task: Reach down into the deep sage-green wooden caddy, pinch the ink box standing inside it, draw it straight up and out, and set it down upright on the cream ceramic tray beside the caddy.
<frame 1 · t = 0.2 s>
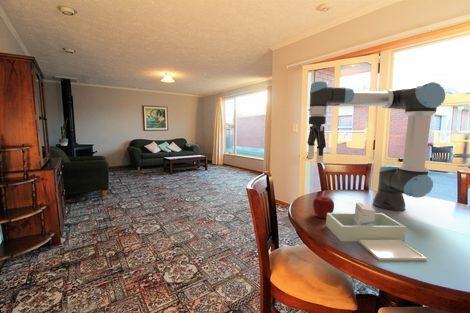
hand: (314, 160, 111), 28 cm above the table, fingers open, 13 cm apart
apple: (322, 217, 112), on the table
caddy: (362, 233, 96), on the table
tray: (390, 251, 82), on the table
ink box: (362, 233, 96), resting in caddy
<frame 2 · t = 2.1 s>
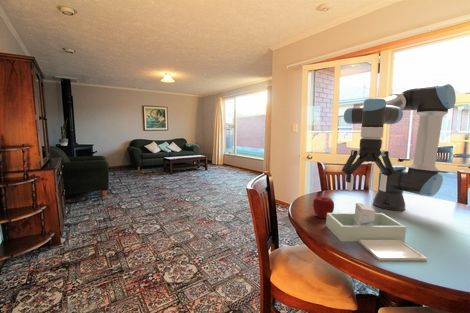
hand: (365, 190, 93), 18 cm above the table, fingers open, 13 cm apart
nothing on the table moved.
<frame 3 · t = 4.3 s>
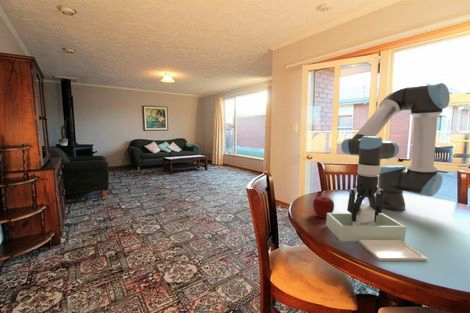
hand: (362, 228, 95), 2 cm above the table, fingers closed on ink box, 6 cm apart
ink box: (362, 233, 96), resting in caddy, touching gripper
everything else where it was.
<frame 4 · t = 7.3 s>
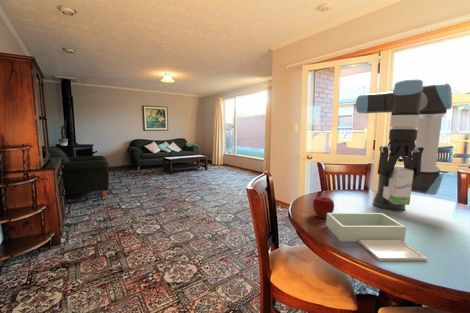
hand: (396, 195, 79), 21 cm above the table, fingers closed on ink box, 6 cm apart
ink box: (395, 201, 79), point 19 cm above the table, touching gripper
everything else where it was.
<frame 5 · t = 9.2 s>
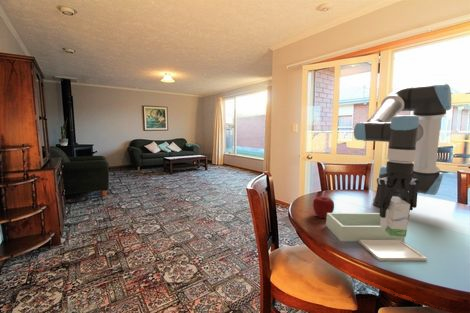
hand: (393, 226, 80), 10 cm above the table, fingers closed on ink box, 6 cm apart
ink box: (392, 231, 81), point 7 cm above the table, touching gripper
everything else where it was.
when the fingers open (4 cm above the table, at t = 10.7 s): ink box drops 1 cm, resting on tray.
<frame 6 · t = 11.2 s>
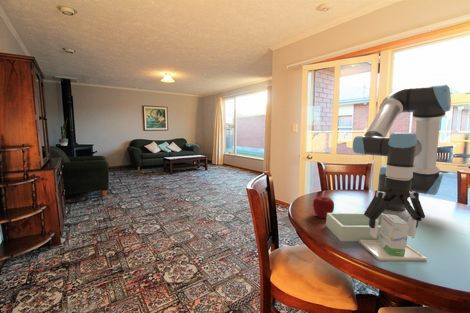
hand: (391, 236, 81), 6 cm above the table, fingers open, 13 cm apart
ink box: (391, 250, 82), resting on tray
everything else where it was.
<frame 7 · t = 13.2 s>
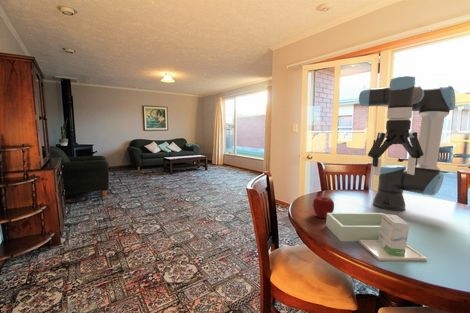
hand: (393, 174, 89), 26 cm above the table, fingers open, 13 cm apart
nothing on the table moved.
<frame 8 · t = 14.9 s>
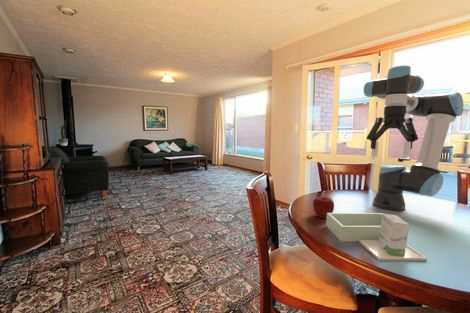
hand: (390, 156, 97), 32 cm above the table, fingers open, 13 cm apart
nothing on the table moved.
at the end: ink box inside the target area on the tray (0.3 cm from its centre), point 0.4 cm above the tray's base; ink box tilted 0°; the gripper is holding nothing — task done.
